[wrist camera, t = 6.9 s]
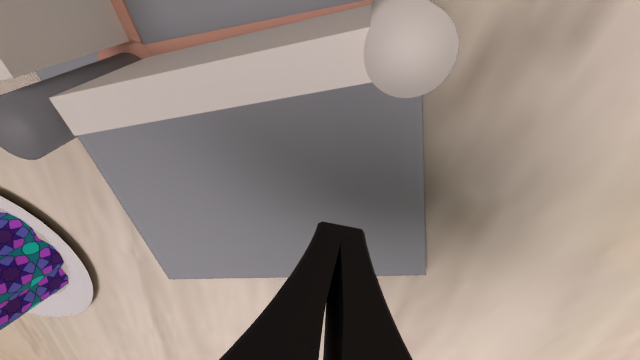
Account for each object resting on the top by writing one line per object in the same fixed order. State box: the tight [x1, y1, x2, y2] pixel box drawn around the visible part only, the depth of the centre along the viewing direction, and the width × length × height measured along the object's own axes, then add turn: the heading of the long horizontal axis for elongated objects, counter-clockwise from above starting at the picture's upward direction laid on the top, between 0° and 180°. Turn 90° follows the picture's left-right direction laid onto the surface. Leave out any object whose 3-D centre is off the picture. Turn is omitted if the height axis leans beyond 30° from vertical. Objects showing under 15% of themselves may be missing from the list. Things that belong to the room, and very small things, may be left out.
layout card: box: [36, 0, 426, 279], centre depth 11 cm, size 22×14×1 cm, turn 11°
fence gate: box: [49, 0, 459, 136], centre depth 8 cm, size 9×2×4 cm, turn 103°
